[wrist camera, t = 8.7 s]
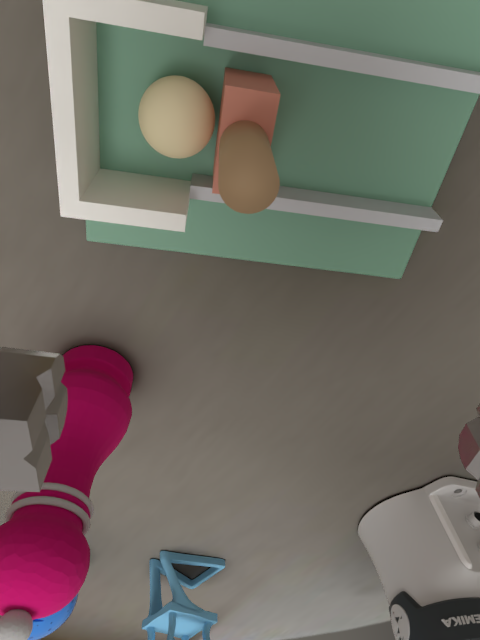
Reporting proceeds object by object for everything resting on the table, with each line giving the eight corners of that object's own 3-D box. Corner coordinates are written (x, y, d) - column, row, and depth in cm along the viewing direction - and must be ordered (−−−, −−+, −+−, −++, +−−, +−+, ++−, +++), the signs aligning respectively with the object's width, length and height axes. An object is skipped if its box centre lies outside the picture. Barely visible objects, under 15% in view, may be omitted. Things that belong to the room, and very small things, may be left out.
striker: (271, 75, 25) (294, 123, 17) (255, 167, 27) (268, 245, 19) (225, 67, 24) (225, 112, 16) (213, 161, 27) (209, 238, 19)
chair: (171, 541, 56) (160, 658, 47) (226, 559, 59) (227, 672, 50) (140, 566, 60) (124, 679, 50) (193, 582, 63) (188, 691, 53)
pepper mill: (60, 328, 36) (-70, 610, 20) (149, 354, 38) (95, 631, 22) (45, 389, 40) (-74, 665, 24) (127, 409, 42) (67, 678, 26)
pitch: (523, -34, 23) (601, -36, 18) (396, 271, 34) (425, 320, 29) (74, -129, 21) (29, -161, 16) (90, 233, 31) (66, 280, 26)
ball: (157, 83, 21) (127, 64, 23) (153, 171, 23) (127, 144, 26) (233, 88, 23) (198, 70, 25) (223, 168, 25) (191, 144, 28)
